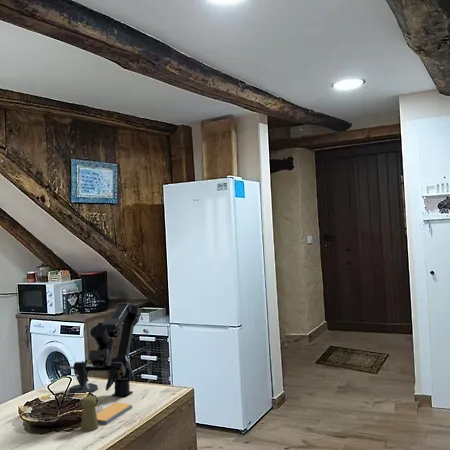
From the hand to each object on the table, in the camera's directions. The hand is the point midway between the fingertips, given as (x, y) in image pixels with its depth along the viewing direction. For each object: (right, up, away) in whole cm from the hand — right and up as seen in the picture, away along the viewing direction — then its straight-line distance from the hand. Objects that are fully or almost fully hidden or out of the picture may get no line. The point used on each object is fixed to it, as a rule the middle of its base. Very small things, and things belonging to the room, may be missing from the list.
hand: (94, 390), depth 187 cm
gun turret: (-17, -12, +38) cm, 43 cm away
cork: (0, -12, -5) cm, 13 cm away
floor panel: (+5, -11, +7) cm, 14 cm away
